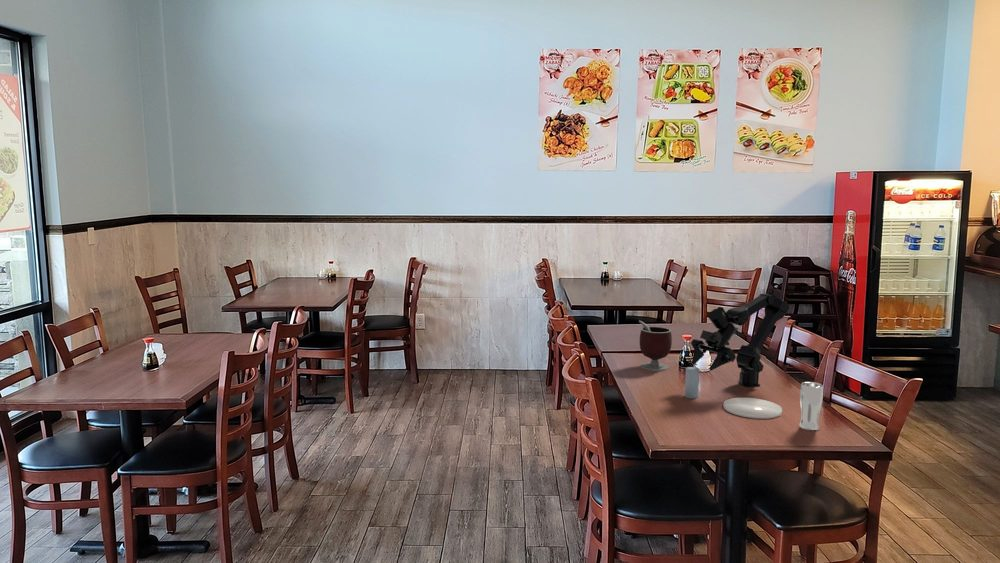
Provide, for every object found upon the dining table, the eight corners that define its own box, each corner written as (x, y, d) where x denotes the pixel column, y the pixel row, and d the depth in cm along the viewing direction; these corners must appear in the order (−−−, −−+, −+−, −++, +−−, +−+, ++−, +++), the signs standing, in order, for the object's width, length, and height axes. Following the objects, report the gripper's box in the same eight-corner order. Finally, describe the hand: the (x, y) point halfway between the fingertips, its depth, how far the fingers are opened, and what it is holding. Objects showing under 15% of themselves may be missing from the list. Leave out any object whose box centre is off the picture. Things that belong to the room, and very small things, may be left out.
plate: (764, 399, 264) (764, 396, 264) (793, 417, 245) (793, 414, 245) (714, 401, 262) (714, 398, 262) (738, 419, 242) (739, 416, 242)
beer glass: (807, 432, 231) (810, 388, 228) (793, 425, 237) (796, 382, 235) (825, 430, 232) (828, 386, 230) (810, 423, 239) (813, 380, 237)
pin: (695, 394, 271) (696, 366, 269) (700, 398, 266) (701, 370, 264) (682, 394, 270) (683, 367, 268) (687, 398, 265) (689, 370, 264)
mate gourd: (676, 367, 310) (678, 322, 307) (660, 373, 300) (662, 327, 297) (645, 360, 320) (647, 318, 317) (629, 366, 310) (631, 322, 307)
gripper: (695, 318, 277) (673, 349, 273) (732, 327, 261) (709, 359, 257) (708, 336, 282) (687, 366, 278) (745, 345, 266) (723, 377, 262)
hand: (701, 367), depth 268 cm, fingers open, 9 cm apart
